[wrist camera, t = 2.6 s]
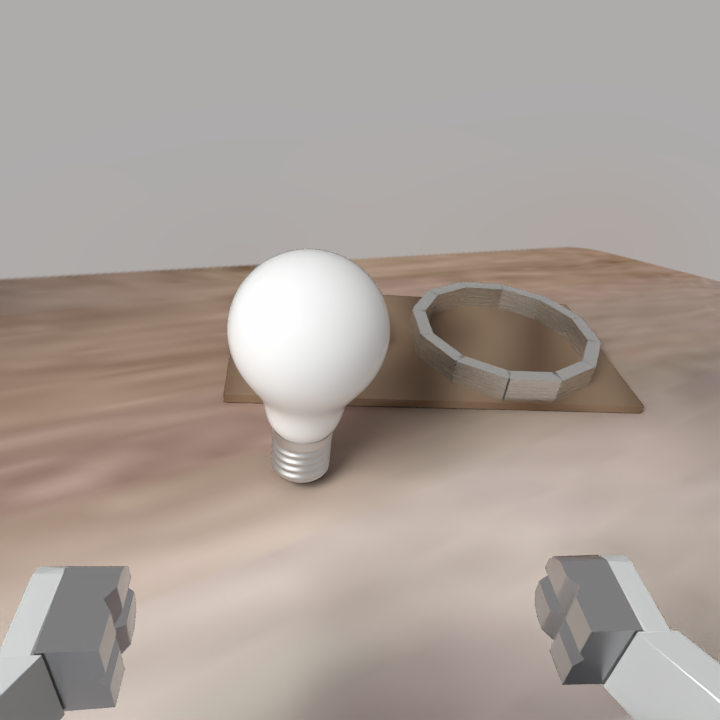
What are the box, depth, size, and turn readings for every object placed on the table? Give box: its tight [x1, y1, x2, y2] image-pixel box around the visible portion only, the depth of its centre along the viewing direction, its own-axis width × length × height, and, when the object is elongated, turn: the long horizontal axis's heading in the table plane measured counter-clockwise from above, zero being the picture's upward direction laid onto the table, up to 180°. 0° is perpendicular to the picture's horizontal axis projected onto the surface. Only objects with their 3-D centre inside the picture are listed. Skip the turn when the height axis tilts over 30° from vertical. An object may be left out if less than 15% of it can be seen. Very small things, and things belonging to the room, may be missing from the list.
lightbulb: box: [227, 249, 390, 483], centre depth 24 cm, size 6×6×11 cm
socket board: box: [224, 282, 644, 413], centre depth 37 cm, size 24×12×2 cm, turn 95°
